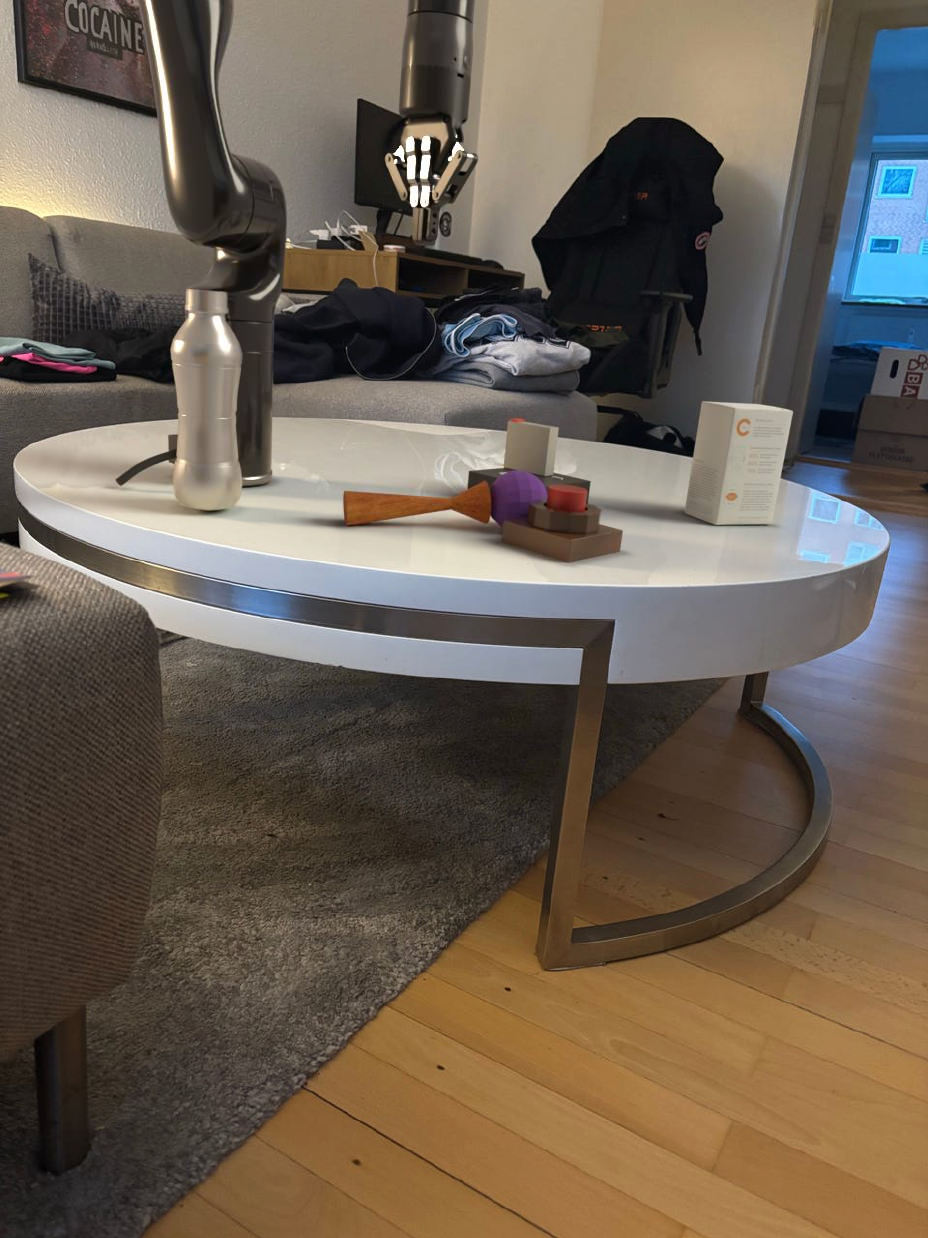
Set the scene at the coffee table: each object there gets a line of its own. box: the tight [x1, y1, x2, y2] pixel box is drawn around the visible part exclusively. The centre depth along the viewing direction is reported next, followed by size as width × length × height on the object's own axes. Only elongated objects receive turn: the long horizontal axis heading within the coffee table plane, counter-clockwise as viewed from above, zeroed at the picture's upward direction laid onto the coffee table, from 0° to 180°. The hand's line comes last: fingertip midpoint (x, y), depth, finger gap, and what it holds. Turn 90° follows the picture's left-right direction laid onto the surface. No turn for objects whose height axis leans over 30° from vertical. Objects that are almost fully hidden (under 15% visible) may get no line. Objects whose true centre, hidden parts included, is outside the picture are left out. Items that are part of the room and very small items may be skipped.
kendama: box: [342, 470, 547, 529], centre depth 89 cm, size 6×6×20 cm
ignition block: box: [500, 499, 624, 564], centre depth 85 cm, size 8×8×4 cm
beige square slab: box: [503, 417, 560, 476], centre depth 107 cm, size 6×2×6 cm, turn 50°
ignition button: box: [546, 485, 587, 512], centre depth 84 cm, size 4×4×2 cm
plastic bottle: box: [170, 288, 243, 512], centre depth 85 cm, size 6×7×20 cm
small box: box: [684, 400, 794, 526], centre depth 104 cm, size 8×6×13 cm
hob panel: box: [466, 462, 592, 504], centre depth 107 cm, size 12×12×3 cm
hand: (424, 244), depth 103 cm, fingers closed
